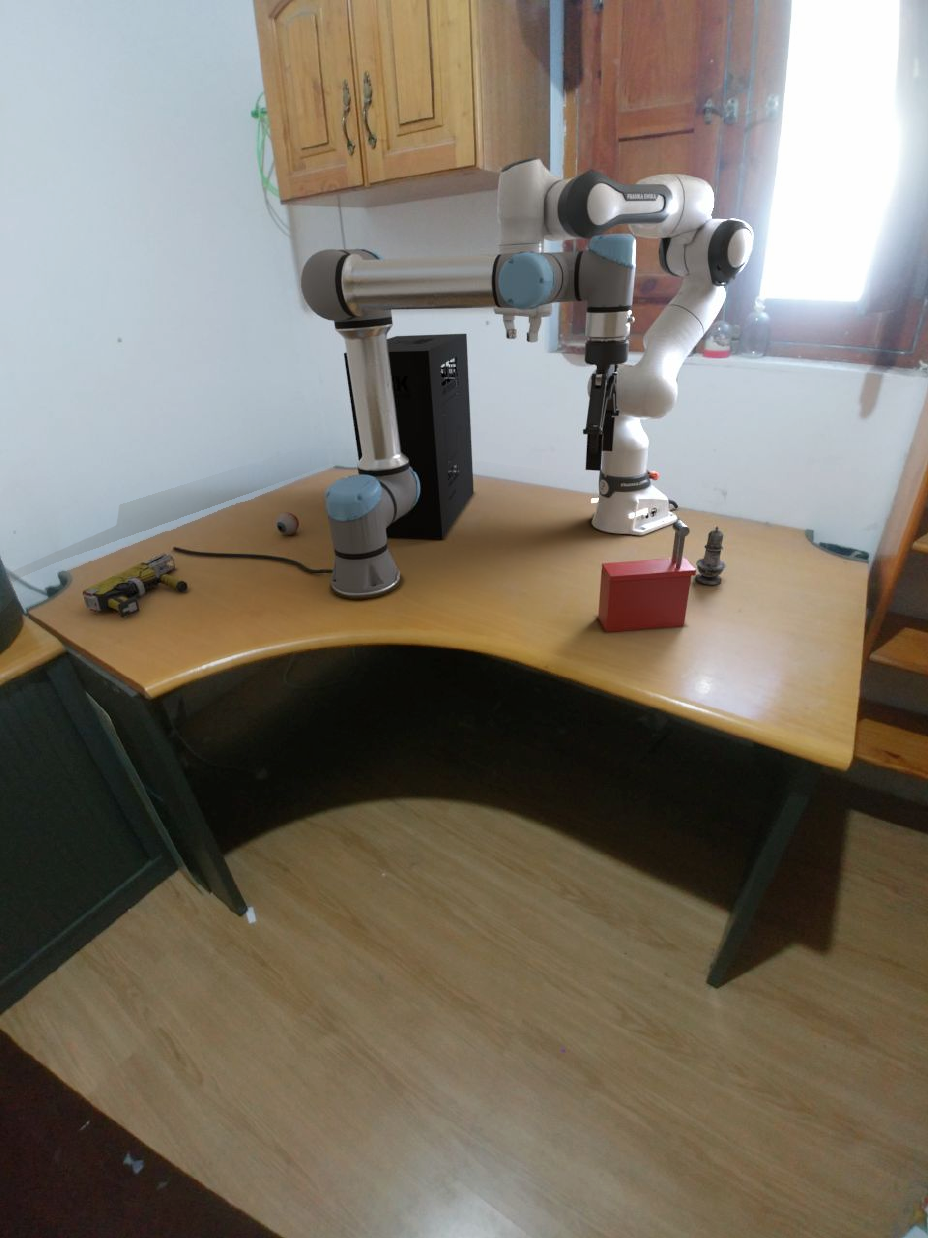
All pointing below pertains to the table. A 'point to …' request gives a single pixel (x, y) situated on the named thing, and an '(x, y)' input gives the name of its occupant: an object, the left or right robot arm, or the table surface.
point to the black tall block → (430, 428)
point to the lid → (654, 563)
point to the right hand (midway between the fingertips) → (521, 340)
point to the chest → (643, 603)
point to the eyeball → (287, 523)
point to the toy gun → (131, 586)
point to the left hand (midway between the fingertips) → (599, 459)
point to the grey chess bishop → (711, 560)
